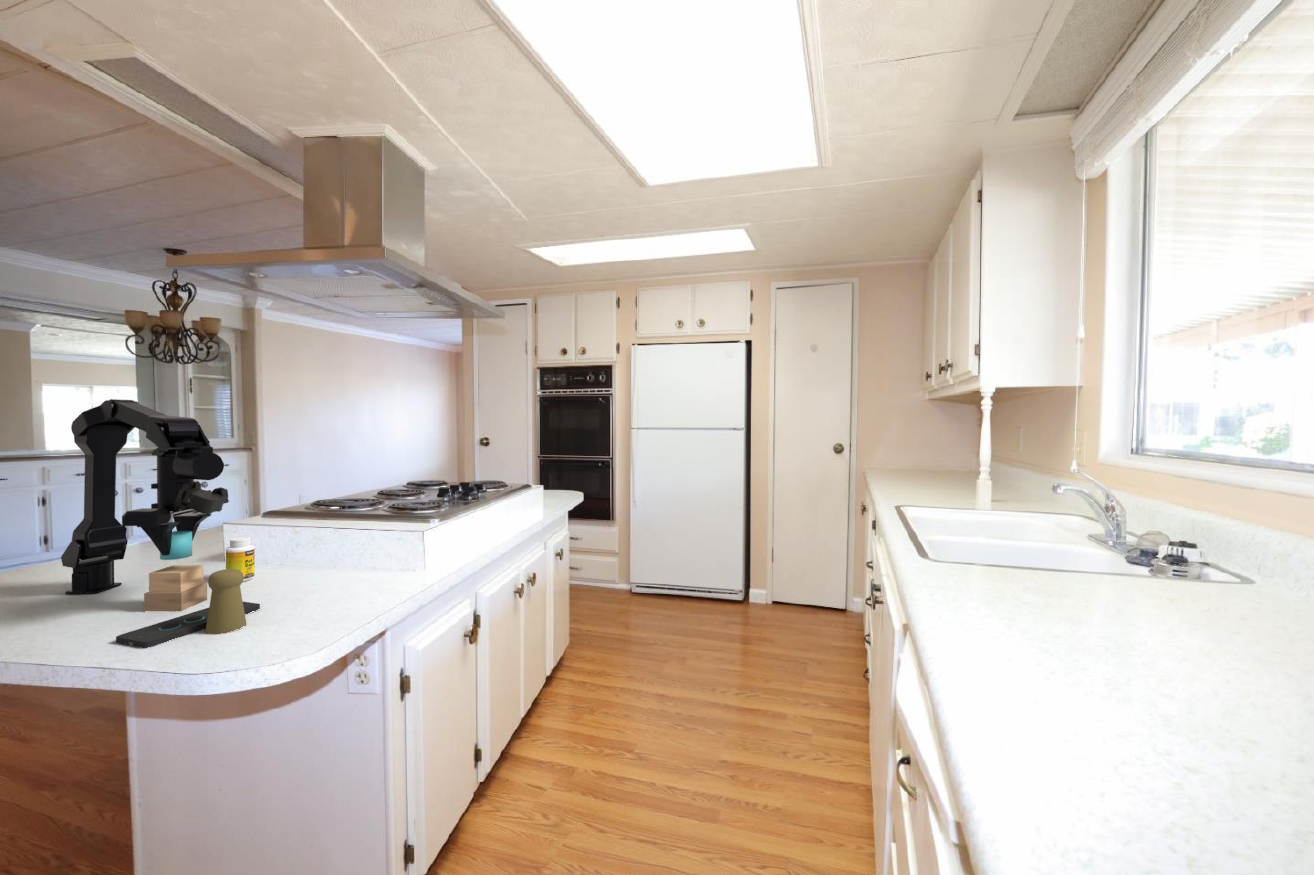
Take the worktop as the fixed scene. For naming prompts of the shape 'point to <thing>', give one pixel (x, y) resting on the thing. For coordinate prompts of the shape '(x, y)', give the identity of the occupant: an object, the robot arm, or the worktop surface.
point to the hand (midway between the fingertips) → (176, 552)
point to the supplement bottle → (241, 556)
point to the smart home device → (172, 628)
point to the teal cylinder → (179, 546)
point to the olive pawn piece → (225, 602)
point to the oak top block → (175, 578)
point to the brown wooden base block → (175, 599)
